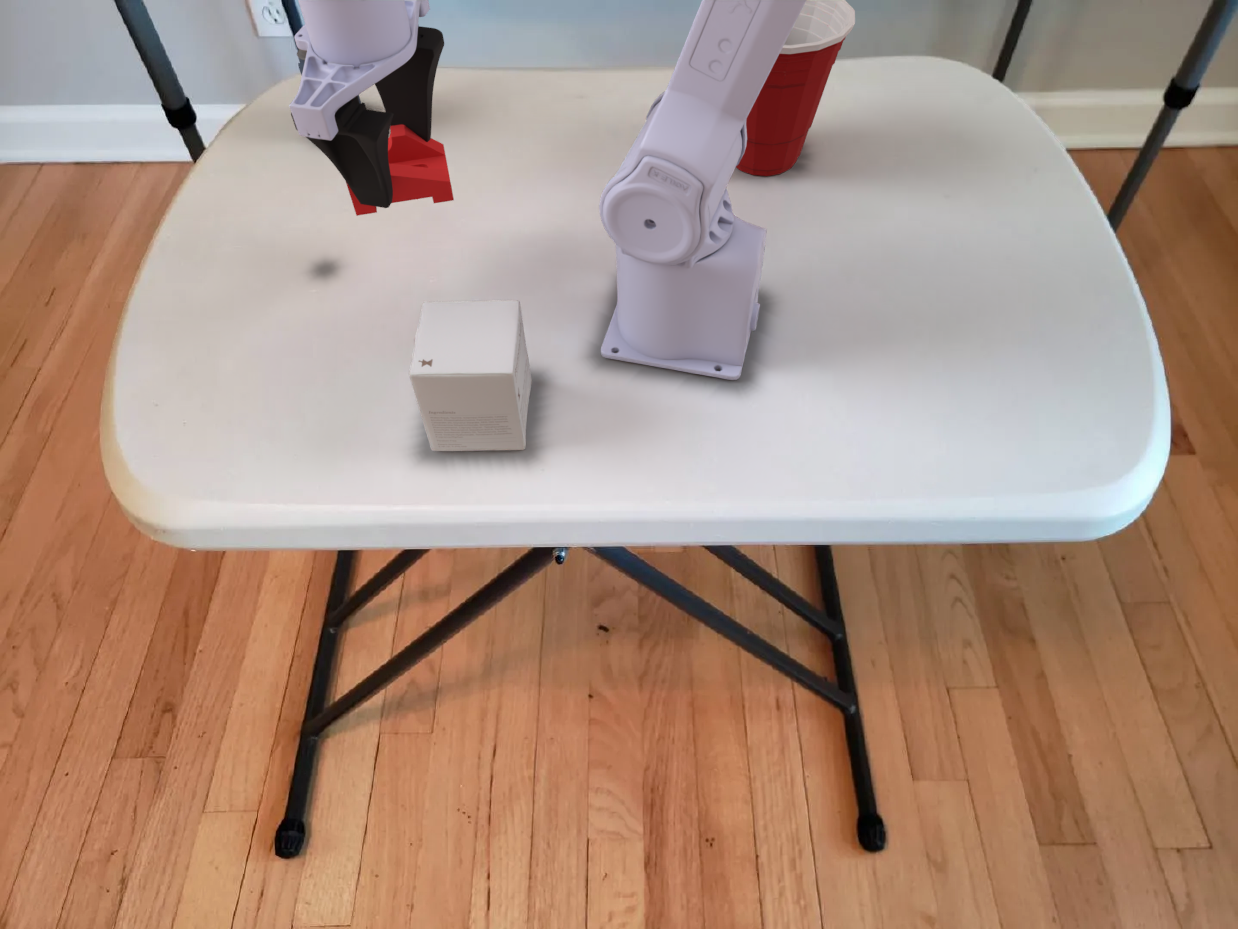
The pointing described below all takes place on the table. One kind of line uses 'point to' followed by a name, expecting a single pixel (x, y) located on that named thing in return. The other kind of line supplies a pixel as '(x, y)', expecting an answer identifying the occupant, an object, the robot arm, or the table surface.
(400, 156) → the bracket
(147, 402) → the table surface
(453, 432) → the product box
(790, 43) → the plastic cup
